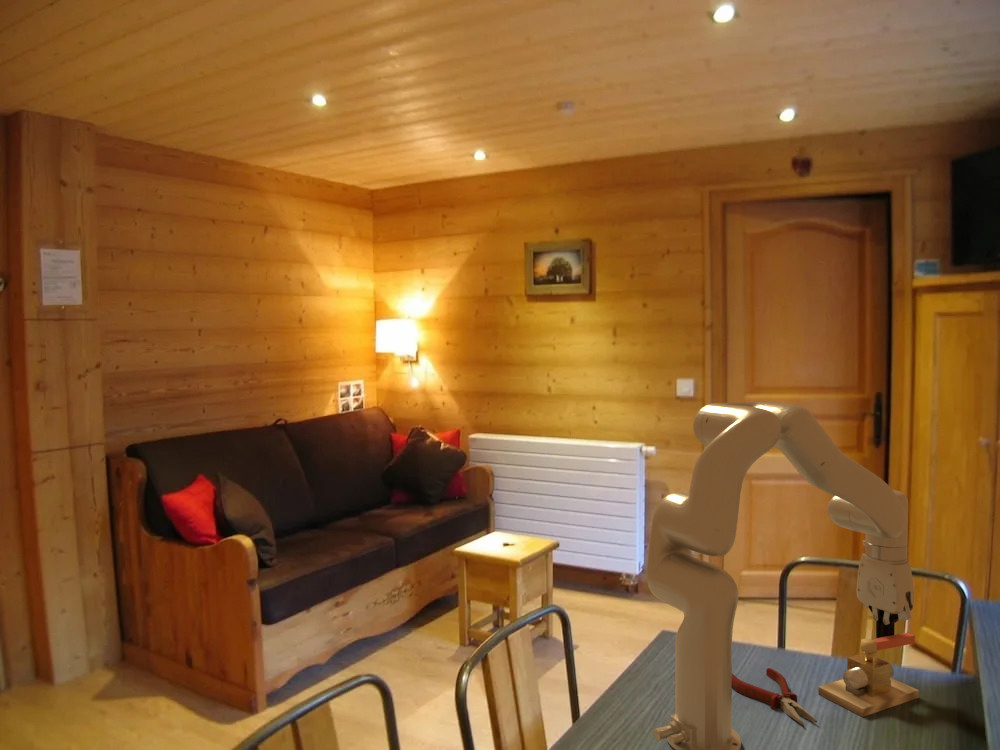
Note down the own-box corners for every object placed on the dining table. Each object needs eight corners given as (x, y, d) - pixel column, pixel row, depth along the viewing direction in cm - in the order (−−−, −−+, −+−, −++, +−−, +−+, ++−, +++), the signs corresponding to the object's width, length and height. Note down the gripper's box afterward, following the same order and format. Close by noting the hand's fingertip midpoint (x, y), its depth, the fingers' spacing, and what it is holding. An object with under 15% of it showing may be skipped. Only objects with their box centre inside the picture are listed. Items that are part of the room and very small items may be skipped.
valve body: (863, 700, 140) (864, 662, 140) (838, 687, 145) (838, 651, 145) (898, 688, 145) (898, 651, 144) (872, 677, 150) (873, 641, 149)
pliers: (782, 733, 133) (782, 719, 132) (722, 683, 152) (723, 671, 152) (837, 725, 135) (837, 711, 135) (772, 677, 155) (772, 665, 155)
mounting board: (862, 716, 137) (862, 709, 137) (818, 694, 146) (818, 686, 146) (918, 697, 144) (918, 690, 144) (873, 676, 153) (873, 669, 153)
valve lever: (868, 654, 143) (869, 645, 143) (857, 648, 145) (857, 639, 145) (917, 644, 147) (917, 636, 147) (905, 639, 150) (905, 630, 150)
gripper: (842, 544, 154) (841, 630, 155) (906, 564, 140) (905, 658, 141) (868, 540, 157) (867, 624, 158) (933, 559, 143) (932, 651, 144)
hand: (885, 640), depth 149 cm, fingers closed
